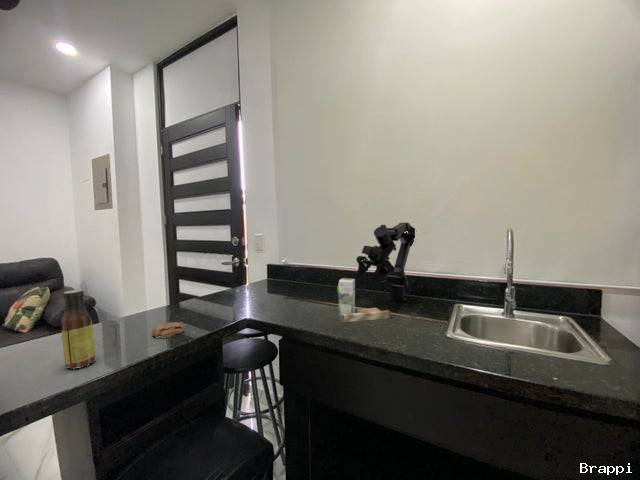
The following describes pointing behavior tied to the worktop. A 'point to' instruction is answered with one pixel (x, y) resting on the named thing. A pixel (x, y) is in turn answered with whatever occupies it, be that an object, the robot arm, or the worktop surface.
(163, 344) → the worktop surface
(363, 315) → the straightedge
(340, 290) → the syrup box
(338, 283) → the decorative egg
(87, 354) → the sauce bottle
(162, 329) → the cookie
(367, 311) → the end pad
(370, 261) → the robot arm
